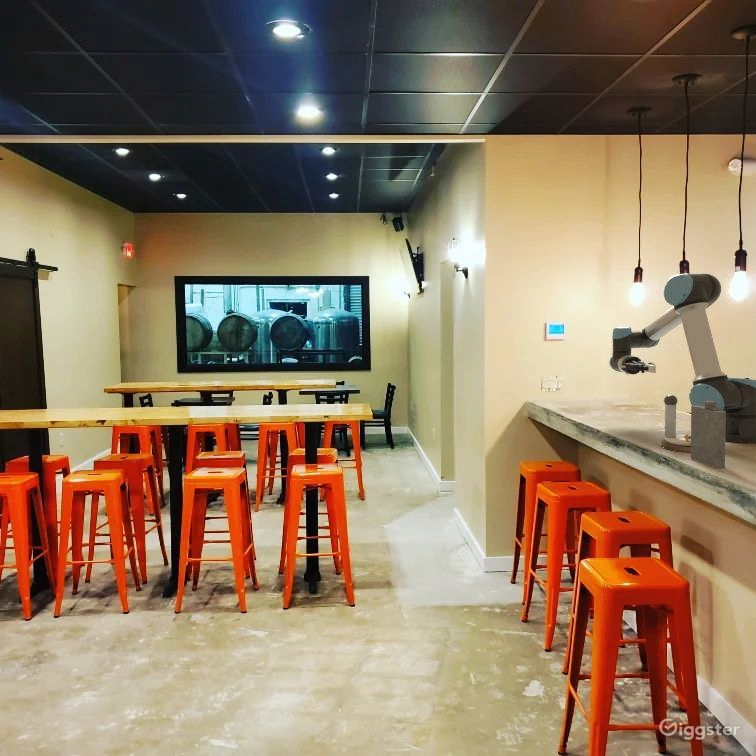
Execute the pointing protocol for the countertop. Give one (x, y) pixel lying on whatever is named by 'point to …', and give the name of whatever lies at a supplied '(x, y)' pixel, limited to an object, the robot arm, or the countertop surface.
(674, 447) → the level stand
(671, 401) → the light grey l-shaped piece
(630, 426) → the countertop surface
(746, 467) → the countertop surface
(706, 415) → the hip flask
